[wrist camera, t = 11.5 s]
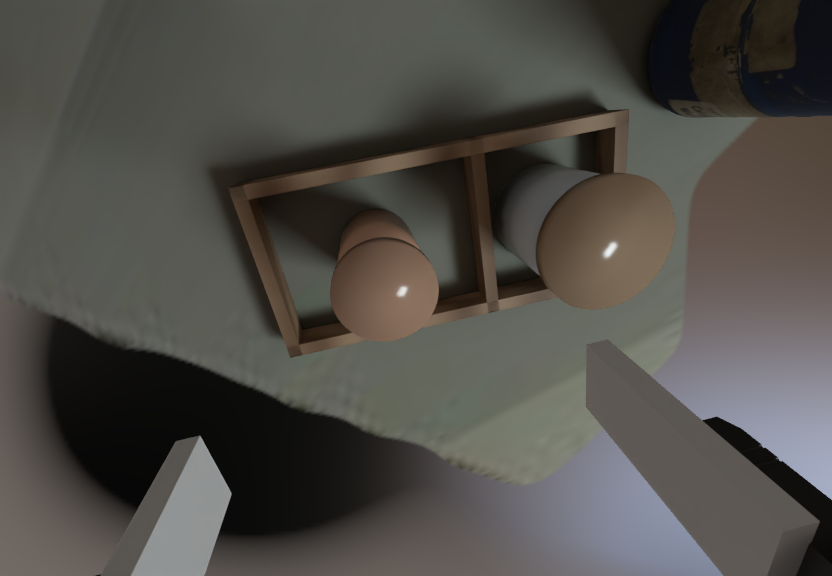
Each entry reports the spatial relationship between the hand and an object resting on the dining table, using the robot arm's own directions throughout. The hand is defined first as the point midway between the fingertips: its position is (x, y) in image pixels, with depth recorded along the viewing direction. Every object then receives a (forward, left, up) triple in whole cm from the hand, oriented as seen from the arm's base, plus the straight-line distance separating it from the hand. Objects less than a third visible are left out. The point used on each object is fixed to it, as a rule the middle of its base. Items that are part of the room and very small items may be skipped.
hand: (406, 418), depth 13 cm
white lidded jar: (+14, 0, -21) cm, 25 cm away
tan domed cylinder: (0, 0, -21) cm, 21 cm away
